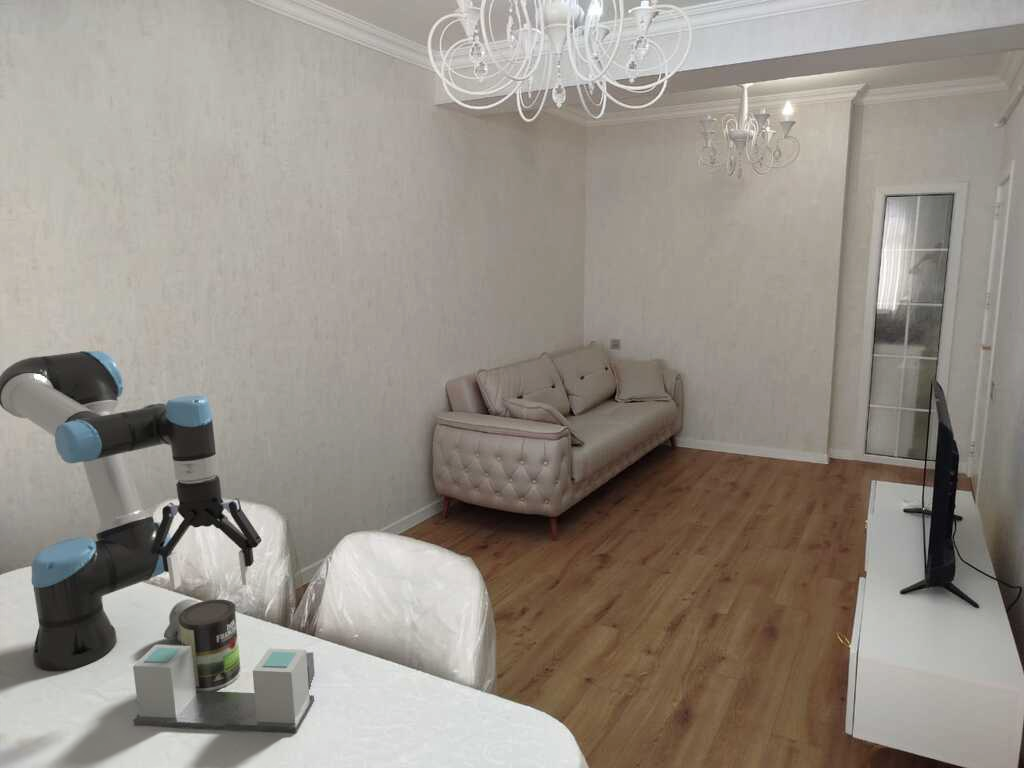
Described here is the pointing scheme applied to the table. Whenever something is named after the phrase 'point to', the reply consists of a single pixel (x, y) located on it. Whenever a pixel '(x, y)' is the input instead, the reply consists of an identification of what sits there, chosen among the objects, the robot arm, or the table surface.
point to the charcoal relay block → (310, 667)
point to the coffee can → (212, 643)
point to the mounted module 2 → (281, 685)
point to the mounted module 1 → (164, 681)
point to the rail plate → (223, 714)
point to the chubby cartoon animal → (177, 619)
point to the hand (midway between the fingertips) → (211, 584)
